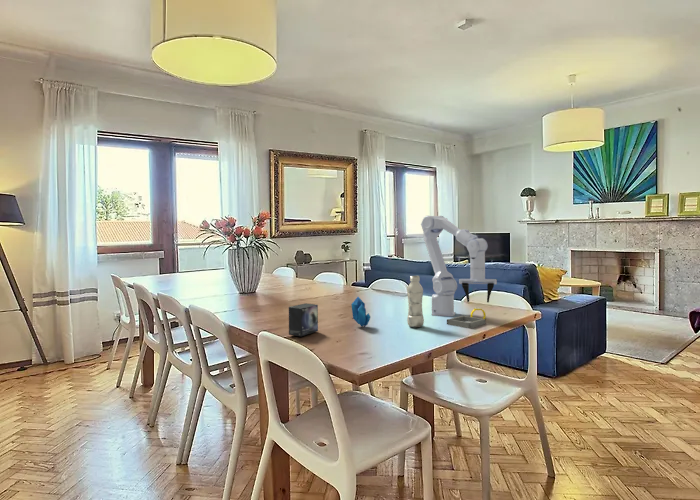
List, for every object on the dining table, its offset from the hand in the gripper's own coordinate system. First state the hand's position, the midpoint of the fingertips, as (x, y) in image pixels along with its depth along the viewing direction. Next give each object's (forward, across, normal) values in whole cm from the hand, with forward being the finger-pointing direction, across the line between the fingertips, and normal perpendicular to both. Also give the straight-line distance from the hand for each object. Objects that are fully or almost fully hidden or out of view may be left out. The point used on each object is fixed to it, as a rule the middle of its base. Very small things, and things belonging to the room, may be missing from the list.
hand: (478, 301), depth 177 cm
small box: (+8, -62, -34) cm, 71 cm away
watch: (+9, 0, 0) cm, 9 cm away
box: (+8, -4, -7) cm, 12 cm away
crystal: (+8, -44, -19) cm, 49 cm away
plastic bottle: (+9, -23, -15) cm, 29 cm away
